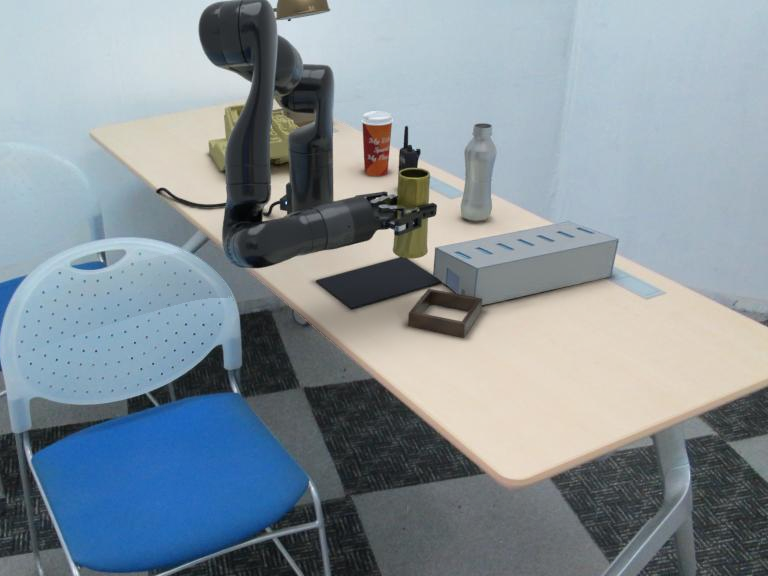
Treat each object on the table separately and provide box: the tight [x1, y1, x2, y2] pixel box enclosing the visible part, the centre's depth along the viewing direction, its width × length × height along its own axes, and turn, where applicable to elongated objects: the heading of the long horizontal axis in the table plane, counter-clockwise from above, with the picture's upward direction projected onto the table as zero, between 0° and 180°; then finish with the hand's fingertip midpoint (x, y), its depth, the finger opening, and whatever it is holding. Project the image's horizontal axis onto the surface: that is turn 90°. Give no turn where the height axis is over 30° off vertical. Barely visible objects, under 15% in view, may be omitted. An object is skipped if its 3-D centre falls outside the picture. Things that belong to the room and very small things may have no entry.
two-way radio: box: [397, 125, 422, 176], centre depth 196 cm, size 6×4×15 cm
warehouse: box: [432, 221, 620, 306], centre depth 160 cm, size 30×14×8 cm, turn 112°
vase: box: [392, 167, 431, 260], centre depth 147 cm, size 6×6×14 cm
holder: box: [407, 288, 483, 338], centre depth 149 cm, size 10×10×3 cm
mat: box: [315, 256, 443, 310], centre depth 162 cm, size 20×13×1 cm, turn 118°
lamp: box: [271, 0, 331, 128], centre depth 241 cm, size 15×34×37 cm, turn 29°
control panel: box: [208, 103, 299, 172], centre depth 217 cm, size 24×16×20 cm
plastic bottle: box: [459, 122, 498, 222], centre depth 180 cm, size 6×7×20 cm
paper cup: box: [360, 110, 394, 177], centre depth 207 cm, size 8×8×14 cm
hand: (424, 203), depth 147 cm, fingers closed on vase, 5 cm apart
